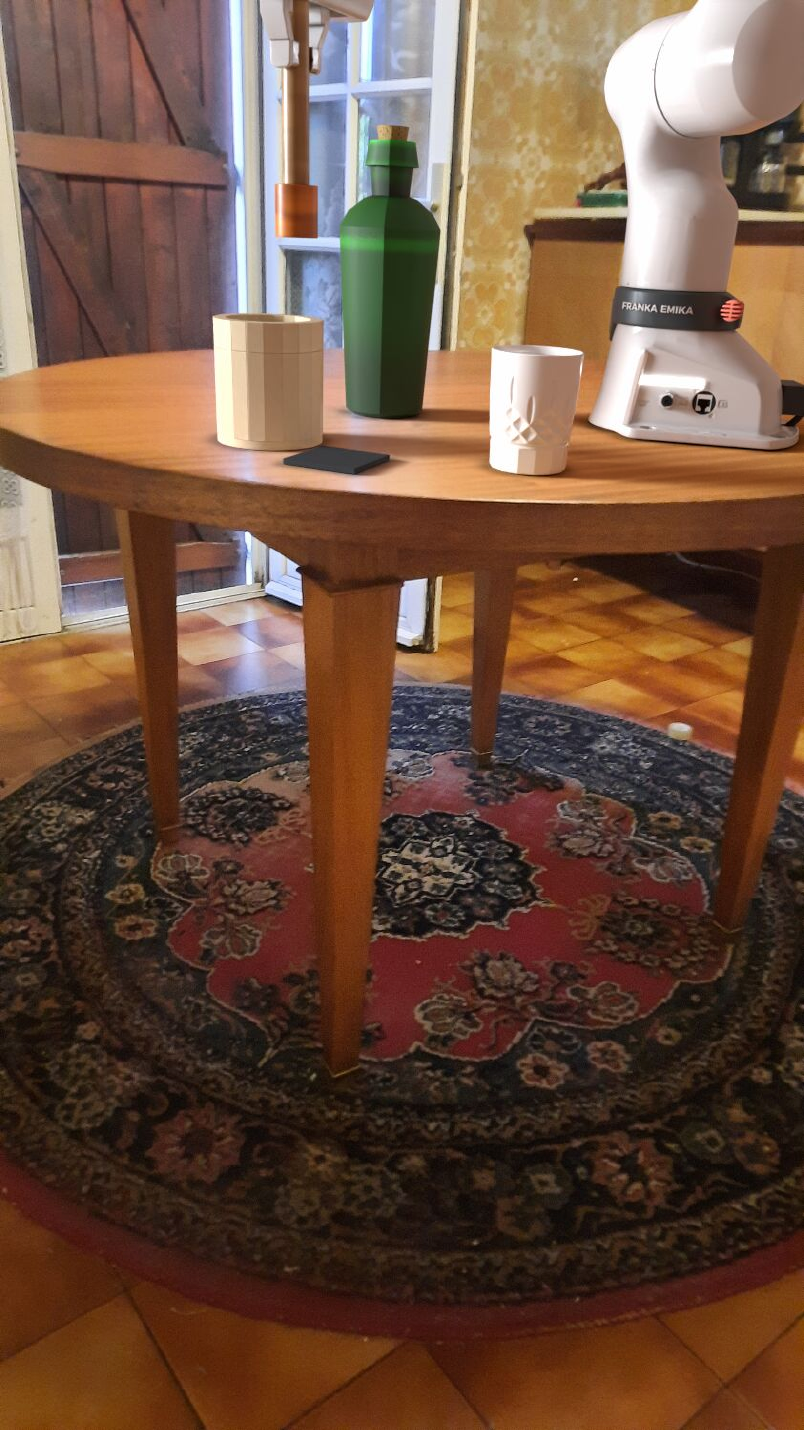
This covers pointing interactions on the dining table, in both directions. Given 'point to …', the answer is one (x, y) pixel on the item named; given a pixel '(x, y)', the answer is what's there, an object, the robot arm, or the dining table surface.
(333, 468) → the mat
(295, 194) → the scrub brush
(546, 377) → the white cup
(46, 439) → the dining table surface
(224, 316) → the jar
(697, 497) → the dining table surface
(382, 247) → the bottle
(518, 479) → the dining table surface
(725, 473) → the dining table surface
